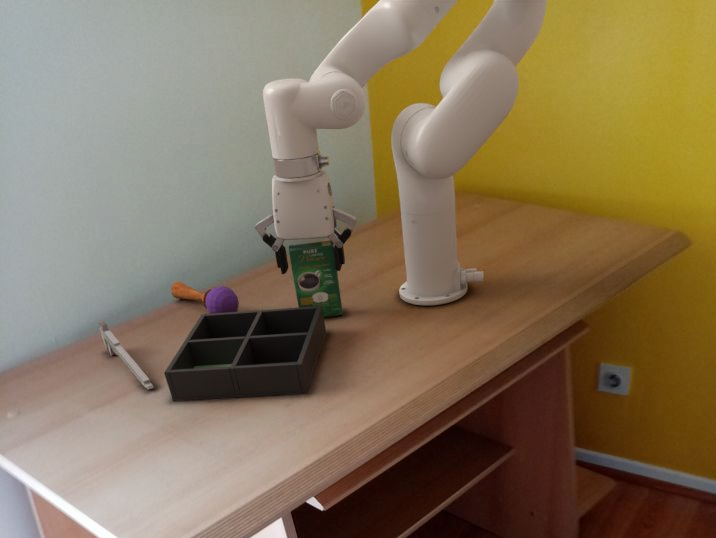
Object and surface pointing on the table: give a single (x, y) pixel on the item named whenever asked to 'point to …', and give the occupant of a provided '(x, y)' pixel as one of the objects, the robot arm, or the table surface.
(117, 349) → the caliper
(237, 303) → the kendama
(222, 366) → the organizer
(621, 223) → the table surface
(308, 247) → the coffee box
